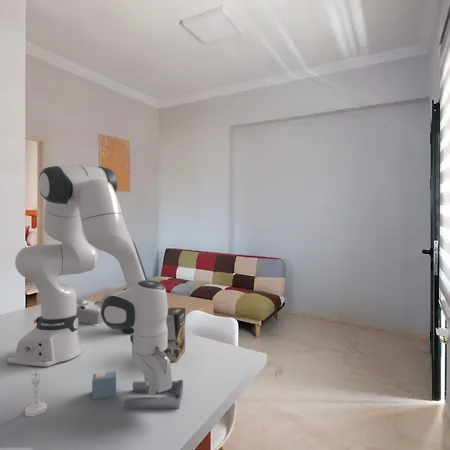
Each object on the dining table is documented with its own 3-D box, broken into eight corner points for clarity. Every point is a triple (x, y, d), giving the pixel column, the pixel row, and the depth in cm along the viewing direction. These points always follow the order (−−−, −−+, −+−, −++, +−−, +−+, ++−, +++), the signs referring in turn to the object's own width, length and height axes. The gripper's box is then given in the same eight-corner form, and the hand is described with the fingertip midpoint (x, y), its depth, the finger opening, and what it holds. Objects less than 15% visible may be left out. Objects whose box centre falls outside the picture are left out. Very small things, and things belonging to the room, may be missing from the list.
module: (92, 399, 85) (92, 378, 85) (93, 391, 89) (93, 371, 89) (115, 395, 87) (115, 375, 87) (116, 388, 91) (116, 368, 91)
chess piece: (31, 405, 82) (30, 366, 82) (50, 404, 83) (50, 366, 83) (20, 416, 78) (20, 376, 77) (41, 416, 78) (41, 375, 78)
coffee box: (177, 362, 108) (177, 314, 107) (159, 360, 109) (159, 313, 109) (186, 351, 117) (186, 307, 116) (169, 349, 118) (169, 306, 118)
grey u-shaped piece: (124, 408, 81) (124, 396, 81) (133, 389, 90) (133, 378, 90) (179, 408, 81) (179, 395, 81) (183, 389, 90) (183, 378, 90)
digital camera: (115, 326, 153) (120, 307, 152) (89, 334, 141) (94, 313, 140) (93, 312, 161) (98, 293, 160) (68, 317, 149) (72, 298, 148)
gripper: (178, 352, 79) (178, 407, 79) (149, 328, 96) (148, 374, 96) (153, 358, 75) (153, 416, 75) (128, 332, 92) (127, 380, 92)
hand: (150, 392), depth 86 cm, fingers closed
